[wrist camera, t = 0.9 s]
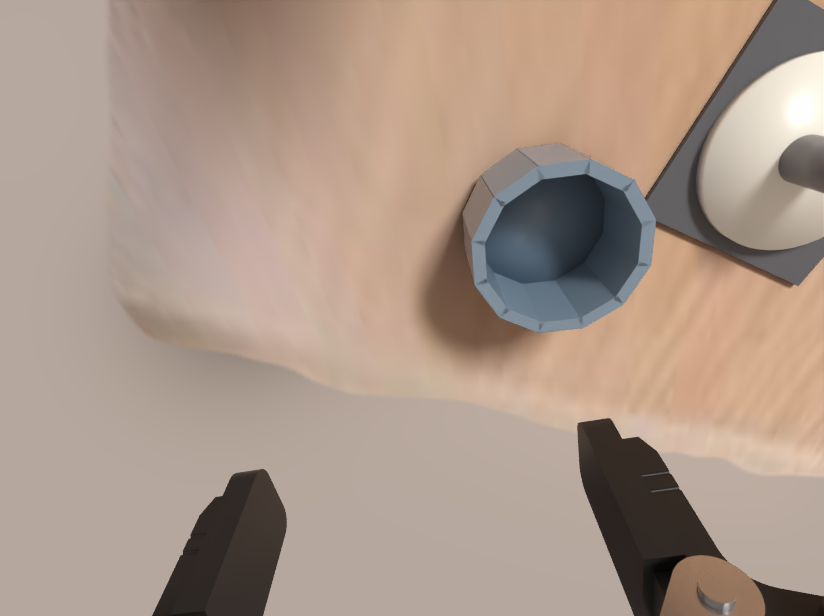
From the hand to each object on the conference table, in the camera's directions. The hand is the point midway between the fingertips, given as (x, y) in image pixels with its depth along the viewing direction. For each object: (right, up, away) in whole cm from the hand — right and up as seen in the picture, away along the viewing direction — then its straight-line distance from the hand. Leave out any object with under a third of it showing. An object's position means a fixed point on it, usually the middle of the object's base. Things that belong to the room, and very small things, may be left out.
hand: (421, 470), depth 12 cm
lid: (+26, +15, +21) cm, 37 cm away
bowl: (+9, +11, +23) cm, 27 cm away
